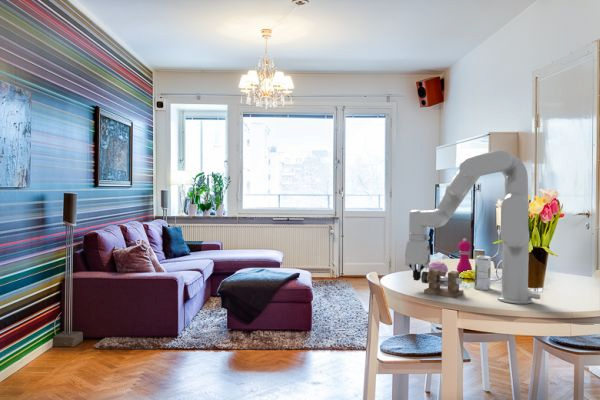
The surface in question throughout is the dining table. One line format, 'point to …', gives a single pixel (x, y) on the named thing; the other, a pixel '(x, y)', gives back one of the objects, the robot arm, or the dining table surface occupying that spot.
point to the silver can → (482, 272)
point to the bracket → (436, 290)
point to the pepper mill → (464, 256)
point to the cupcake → (439, 268)
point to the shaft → (439, 278)
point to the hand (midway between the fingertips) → (416, 279)
